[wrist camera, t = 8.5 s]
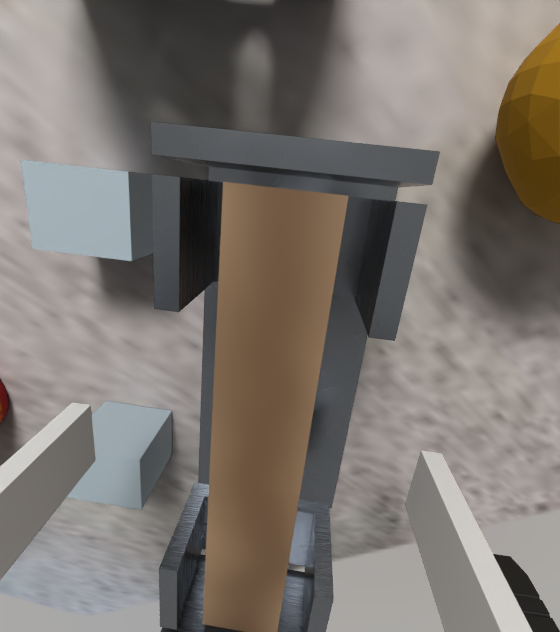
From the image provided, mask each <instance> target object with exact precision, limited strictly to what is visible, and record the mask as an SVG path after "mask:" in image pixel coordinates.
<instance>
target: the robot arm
mask: <svg viewBox="0 0 560 632" xmlns="http://www.w3.org/2000/svg"><path fill="white" fill-rule="evenodd" d="M95 461H96V457H95V446H94V436H93V425H92V414H91V405H85V404H78V403H71V404H70V405H69V406H68V407H67V408H66V409H64V410H63V411H62V412H61V413H60V414H59V415H58V416H57V417H55V418H54V419H53V420H52V421H51V422H50V423H49V424H48V425H46V426H45V427H44V428H43V429H42V430H41V431H40V432H39V433H37V434H36V435H35V436H34V437H33V438H32V439H31V440H30V441H28V442H27V443H26V444H25V445H24V446H23V447H22V448H20V449H19V450H18V451H17V452H16V453H15V454H14V455H13V456H11V457H10V458H9V459H8V460H7V461H6V462H5V463H4V464H2V465H1V466H0V580H1V579H2V577H3V576H4V575H5V574H6V572H7V571H8V570H9V569H10V567H11V566H12V565H13V564H14V562H15V561H16V560H17V559H18V557H19V556H20V555H21V553H22V552H23V551H24V550H25V548H26V547H27V546H28V545H29V543H30V542H31V541H32V540H33V538H34V537H35V536H36V535H37V533H38V532H39V531H40V530H41V528H42V527H43V526H44V525H45V523H46V522H47V521H48V520H49V518H50V517H51V516H52V515H53V513H54V512H55V511H56V510H57V508H58V507H59V506H60V505H61V503H62V502H63V501H64V499H65V498H66V497H67V496H68V494H69V493H70V492H71V491H72V489H73V488H74V487H75V486H76V484H77V483H78V482H79V481H80V479H81V478H82V477H83V476H84V474H85V473H86V472H87V471H88V469H89V468H90V467H91V466H92V464H93V463H94V462H95ZM405 506H406V509H407V512H408V516H409V519H410V522H411V525H412V528H413V532H414V535H415V538H416V541H417V544H418V548H419V551H420V554H421V557H422V560H423V564H424V567H425V570H426V573H427V576H428V580H429V583H430V586H431V589H432V592H433V596H434V599H435V602H436V605H437V608H438V612H439V614H440V618H441V621H442V624H443V628H444V631H445V632H560V631H559V629H558V627H557V626H556V624H555V622H554V621H553V619H552V618H550V616H549V612H548V610H547V608H546V607H545V605H544V603H543V601H542V600H540V599H539V594H538V593H537V591H536V589H535V587H534V586H533V584H532V582H531V581H530V579H529V577H528V575H527V574H526V573H525V572H524V571H523V570H522V569H521V568H520V567H519V565H518V564H517V563H516V562H515V561H514V560H513V559H512V558H511V557H510V556H503V555H496V554H493V553H492V552H491V550H490V548H489V546H488V544H487V542H486V540H485V538H484V536H483V534H482V532H481V530H480V528H479V526H478V524H477V522H476V520H475V518H474V516H473V514H472V513H471V511H470V509H469V507H468V505H467V503H466V501H465V499H464V497H463V495H462V493H461V491H460V489H459V487H458V485H457V483H456V481H455V479H454V477H453V476H452V474H451V472H450V470H449V468H448V466H447V464H446V462H445V460H444V458H443V456H442V454H441V453H434V452H427V451H421V453H420V456H419V460H418V463H417V466H416V470H415V473H414V476H413V480H412V483H411V486H410V490H409V493H408V496H407V500H406V503H405Z"/></svg>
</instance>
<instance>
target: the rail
mask: <svg viewBox="0 0 560 632" xmlns="http://www.w3.org/2000/svg"><path fill="white" fill-rule="evenodd" d="M347 202H348V196H346V195H338V194H329V193H320V192H311V191H302V190H293V189H284V188H275V187H266V186H257V185H248V184H239V183H231V182H223V196H222V217H221V239H220V260H219V281H218V303H217V324H216V346H215V367H214V388H213V410H212V431H211V453H210V474H209V495H208V517H207V538H206V560H205V581H204V602H203V624H205V625H210V626H216V627H221V628H227V629H232V630H238V631H244V632H277V631H278V625H279V619H280V613H281V606H282V600H283V594H284V588H285V582H286V576H287V570H288V564H289V557H290V551H291V545H292V539H293V533H294V527H295V521H296V515H297V508H298V502H299V496H300V490H301V484H302V478H303V472H304V466H305V459H306V453H307V447H308V441H309V435H310V429H311V423H312V417H313V410H314V404H315V398H316V392H317V386H318V380H319V374H320V368H321V361H322V355H323V349H324V343H325V337H326V331H327V325H328V319H329V313H330V306H331V300H332V294H333V288H334V282H335V276H336V270H337V264H338V257H339V251H340V245H341V239H342V233H343V227H344V221H345V215H346V208H347Z"/></svg>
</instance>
